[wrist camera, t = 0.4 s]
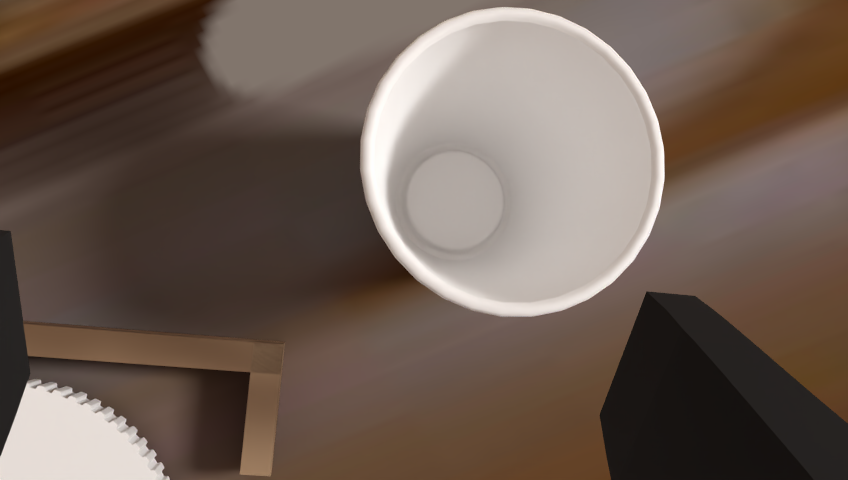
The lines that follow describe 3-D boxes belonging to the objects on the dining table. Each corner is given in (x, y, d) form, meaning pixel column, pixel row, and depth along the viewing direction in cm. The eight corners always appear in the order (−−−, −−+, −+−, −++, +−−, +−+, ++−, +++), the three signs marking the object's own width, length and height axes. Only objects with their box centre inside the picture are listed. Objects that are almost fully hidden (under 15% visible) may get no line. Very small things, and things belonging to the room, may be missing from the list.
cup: (295, 213, 35) (292, 174, 24) (438, 48, 37) (495, -58, 26) (468, 358, 36) (540, 383, 25) (602, 190, 37) (724, 144, 27)
